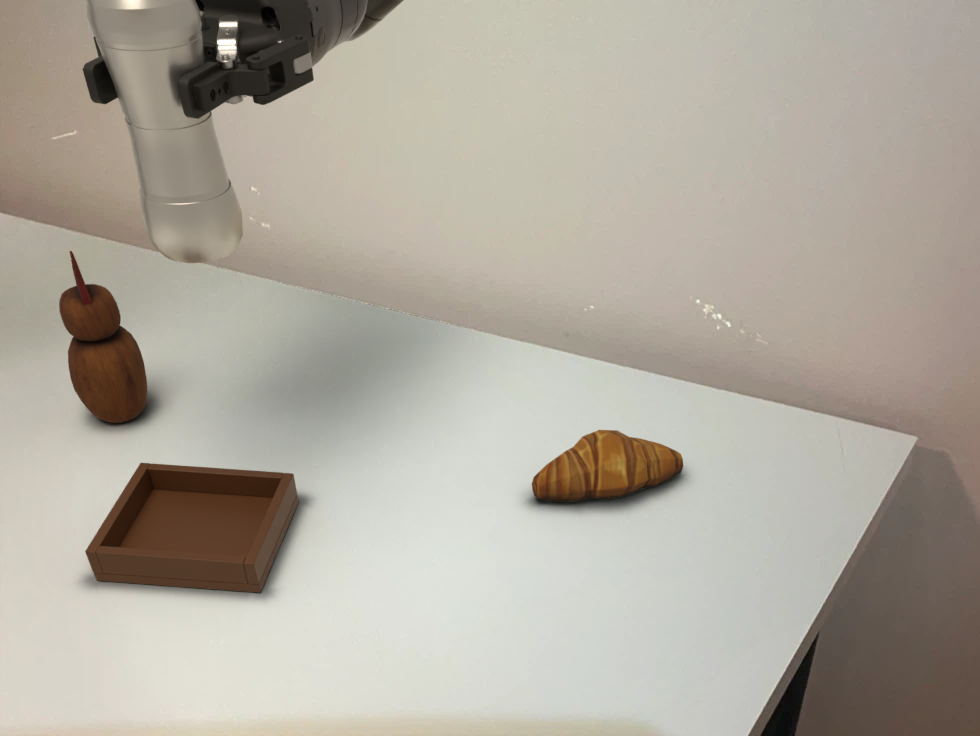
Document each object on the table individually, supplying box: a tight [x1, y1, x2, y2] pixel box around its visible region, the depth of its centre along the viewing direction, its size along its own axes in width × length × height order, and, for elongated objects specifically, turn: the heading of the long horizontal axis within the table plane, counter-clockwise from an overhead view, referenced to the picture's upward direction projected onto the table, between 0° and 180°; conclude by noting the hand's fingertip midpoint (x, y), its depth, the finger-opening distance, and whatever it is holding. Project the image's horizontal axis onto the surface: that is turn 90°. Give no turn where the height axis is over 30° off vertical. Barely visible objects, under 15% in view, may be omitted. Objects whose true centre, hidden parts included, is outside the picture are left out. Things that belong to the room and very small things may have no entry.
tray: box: [84, 462, 300, 594], centre depth 79 cm, size 13×12×3 cm
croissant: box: [531, 429, 684, 503], centre depth 84 cm, size 14×7×5 cm, turn 109°
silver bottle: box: [86, 0, 244, 264], centre depth 65 cm, size 6×7×20 cm
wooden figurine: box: [58, 250, 148, 424], centre depth 87 cm, size 7×6×15 cm
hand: (139, 93), depth 63 cm, fingers closed on silver bottle, 6 cm apart
